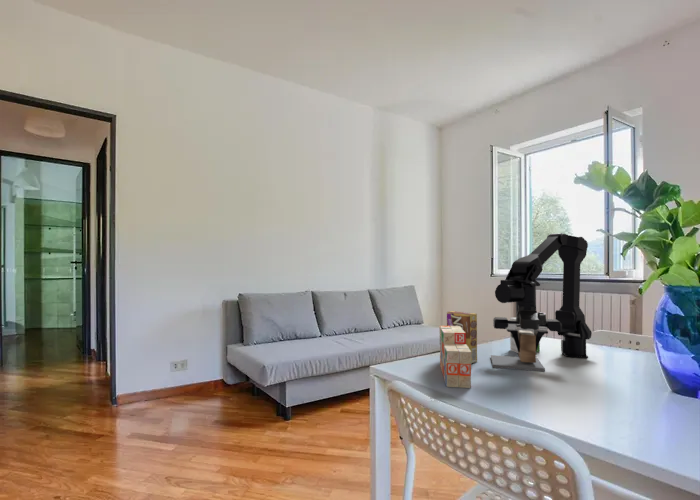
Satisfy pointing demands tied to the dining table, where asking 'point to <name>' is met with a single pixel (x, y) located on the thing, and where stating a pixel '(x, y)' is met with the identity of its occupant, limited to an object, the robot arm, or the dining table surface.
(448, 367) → the stack of blocks
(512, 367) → the rubber mat
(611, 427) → the dining table surface
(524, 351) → the cream panel wooden box
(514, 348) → the ink box
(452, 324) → the candy box
